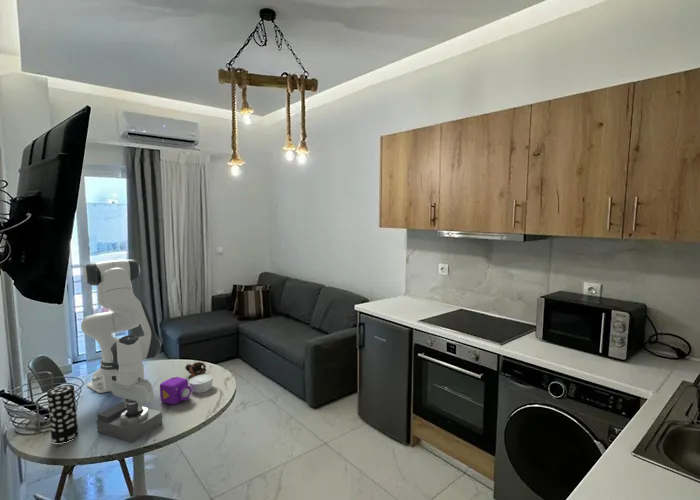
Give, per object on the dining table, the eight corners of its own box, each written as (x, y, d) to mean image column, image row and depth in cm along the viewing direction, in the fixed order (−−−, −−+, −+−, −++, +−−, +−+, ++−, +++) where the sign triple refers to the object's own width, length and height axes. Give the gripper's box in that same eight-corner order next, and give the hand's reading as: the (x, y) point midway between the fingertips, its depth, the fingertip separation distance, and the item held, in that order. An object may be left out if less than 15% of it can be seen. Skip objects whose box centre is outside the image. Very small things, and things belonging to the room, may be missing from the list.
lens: (124, 416, 151) (123, 399, 150) (135, 410, 156) (134, 394, 155) (133, 419, 149) (131, 402, 148) (144, 413, 154) (143, 396, 153)
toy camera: (183, 407, 169) (182, 386, 168) (157, 404, 172) (155, 384, 171) (197, 396, 180) (196, 376, 179) (172, 393, 183) (171, 374, 182)
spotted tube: (48, 447, 141) (43, 396, 139) (55, 435, 149) (51, 387, 147) (75, 441, 145) (70, 392, 143) (80, 430, 152) (76, 383, 150)
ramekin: (185, 394, 181) (185, 384, 181) (194, 384, 192) (194, 374, 192) (208, 394, 182) (208, 383, 181) (216, 383, 193) (216, 373, 192)
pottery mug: (210, 372, 208) (209, 362, 204) (201, 386, 200) (201, 376, 196) (189, 366, 209) (188, 356, 204) (180, 380, 201) (179, 370, 196)
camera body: (97, 431, 151) (96, 413, 151) (129, 413, 164) (128, 397, 163) (131, 442, 144) (130, 423, 143) (162, 423, 156) (161, 406, 156)
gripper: (156, 377, 149) (159, 410, 151) (122, 369, 157) (124, 400, 159) (142, 384, 144) (145, 418, 145) (107, 375, 152) (110, 407, 153)
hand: (134, 408), depth 152 cm, fingers closed on lens, 5 cm apart
